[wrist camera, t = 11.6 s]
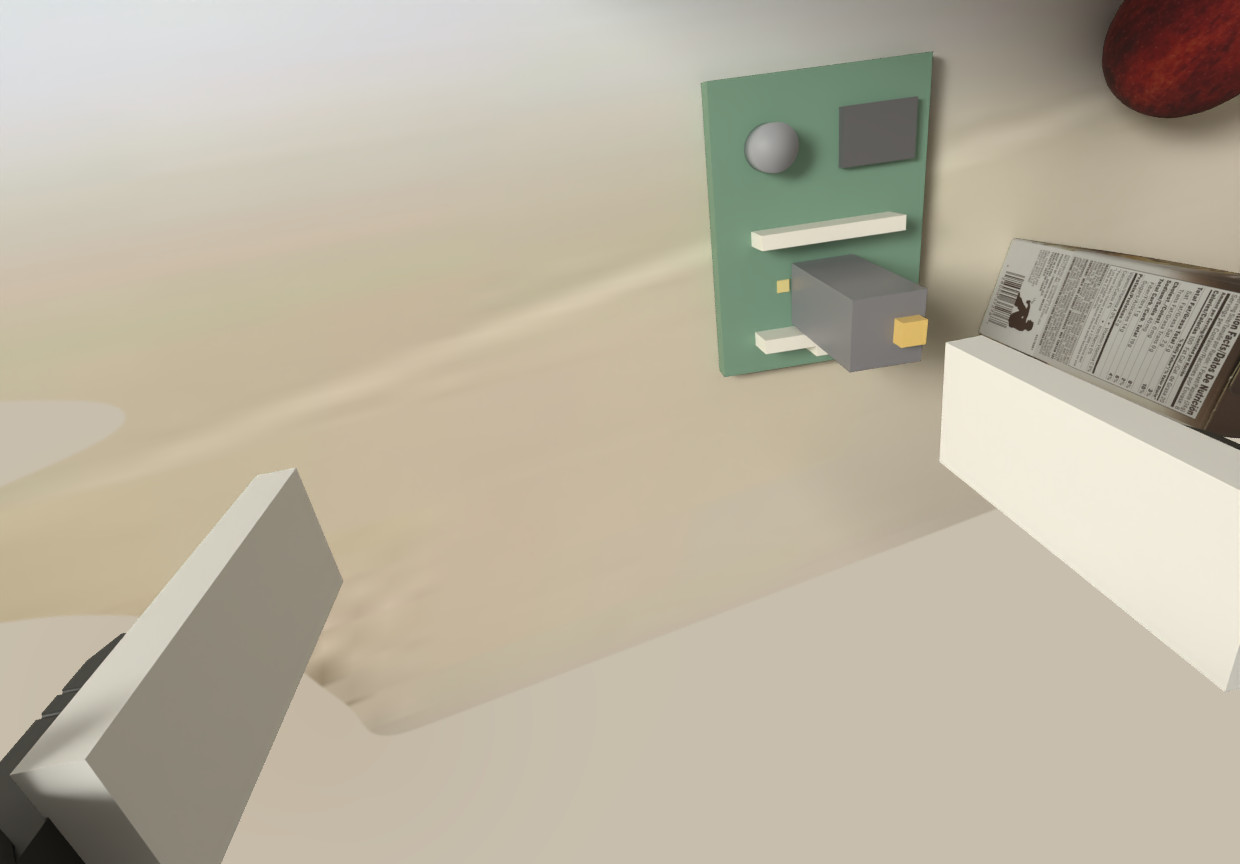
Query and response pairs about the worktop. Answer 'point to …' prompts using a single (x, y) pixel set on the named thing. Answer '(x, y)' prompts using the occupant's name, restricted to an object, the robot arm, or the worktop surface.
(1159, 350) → the coffee box
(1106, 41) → the apple
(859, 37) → the worktop surface
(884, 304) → the plug
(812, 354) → the board
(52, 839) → the robot arm
